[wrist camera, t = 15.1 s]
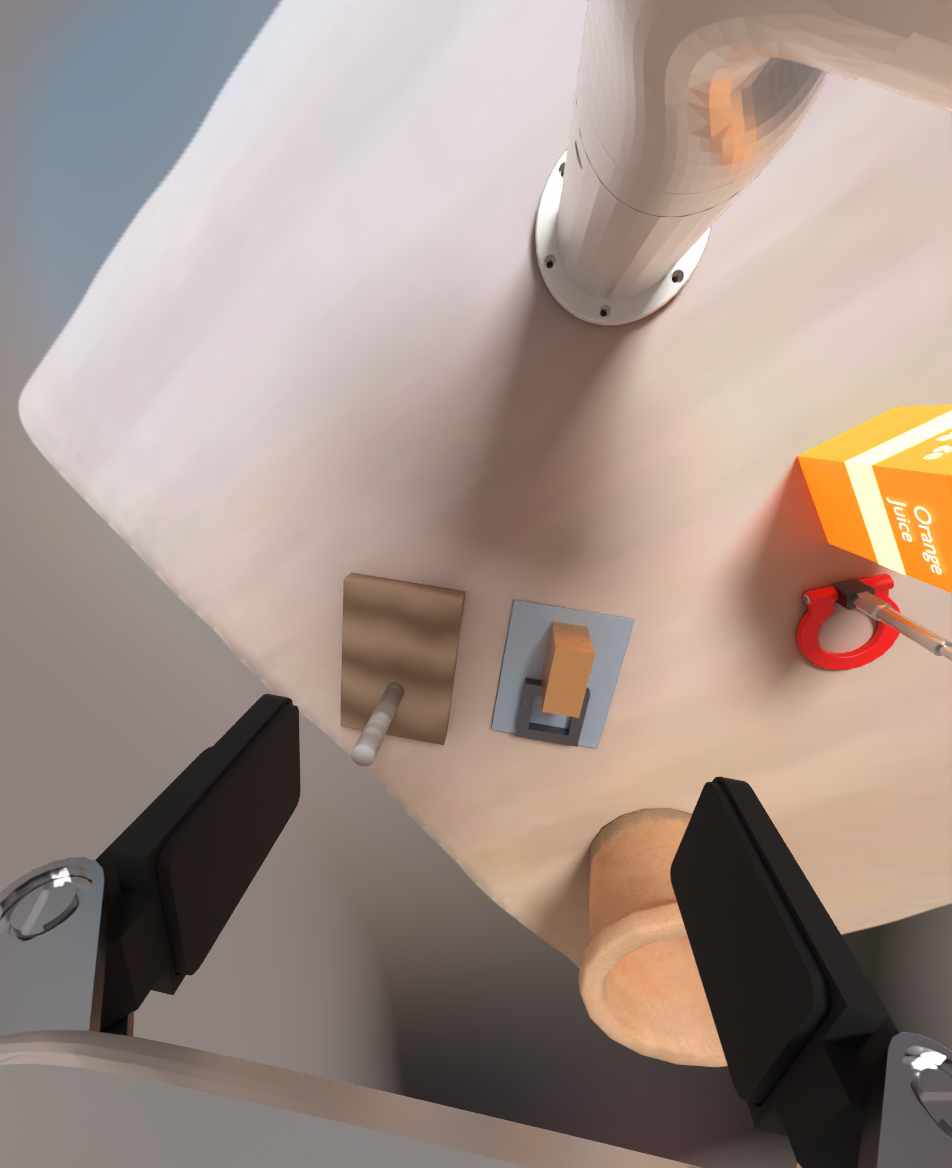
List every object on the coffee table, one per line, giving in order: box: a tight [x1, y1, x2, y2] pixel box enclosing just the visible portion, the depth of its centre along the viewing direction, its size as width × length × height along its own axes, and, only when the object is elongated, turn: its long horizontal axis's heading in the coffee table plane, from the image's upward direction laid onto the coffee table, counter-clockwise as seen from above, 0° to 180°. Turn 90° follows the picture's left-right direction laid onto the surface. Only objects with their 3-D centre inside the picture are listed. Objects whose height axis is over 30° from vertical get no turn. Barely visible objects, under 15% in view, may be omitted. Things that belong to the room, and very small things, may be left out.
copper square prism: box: [515, 621, 595, 746], centre depth 44 cm, size 14×7×6 cm, turn 173°
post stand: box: [341, 573, 465, 766], centre depth 42 cm, size 18×12×12 cm, turn 173°
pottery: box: [579, 809, 728, 1067], centre depth 47 cm, size 22×22×14 cm
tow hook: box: [796, 574, 952, 670], centre depth 36 cm, size 8×13×9 cm
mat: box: [491, 600, 634, 749], centre depth 47 cm, size 16×12×1 cm
